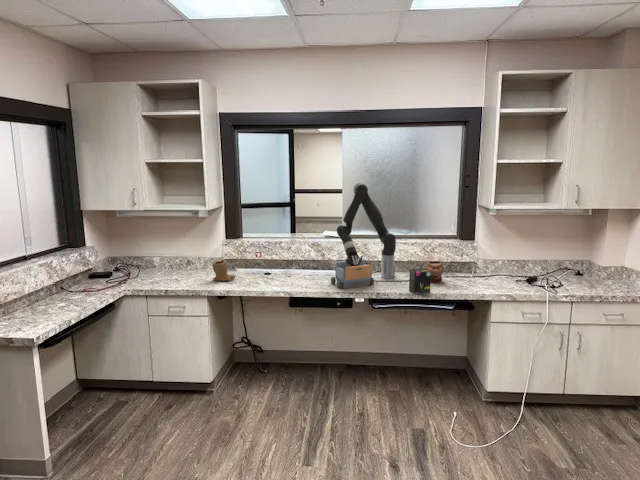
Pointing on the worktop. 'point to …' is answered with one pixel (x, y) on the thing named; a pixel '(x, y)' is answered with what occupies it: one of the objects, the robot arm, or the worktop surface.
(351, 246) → the robot arm
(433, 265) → the decorative planter
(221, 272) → the brown boot
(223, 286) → the worktop surface
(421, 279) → the tampon box
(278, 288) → the worktop surface
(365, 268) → the panel
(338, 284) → the pickup bed
